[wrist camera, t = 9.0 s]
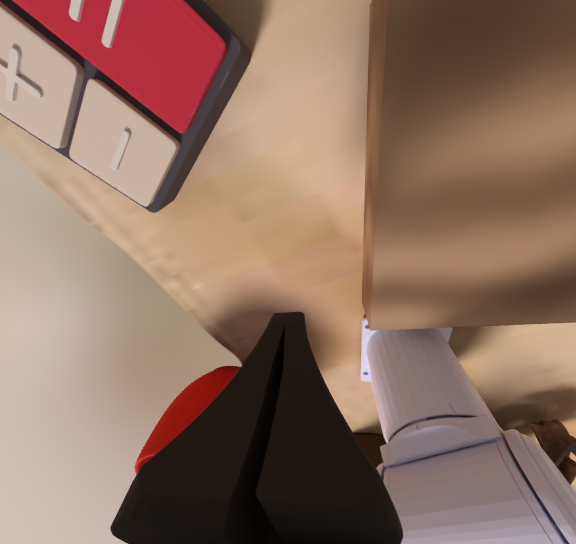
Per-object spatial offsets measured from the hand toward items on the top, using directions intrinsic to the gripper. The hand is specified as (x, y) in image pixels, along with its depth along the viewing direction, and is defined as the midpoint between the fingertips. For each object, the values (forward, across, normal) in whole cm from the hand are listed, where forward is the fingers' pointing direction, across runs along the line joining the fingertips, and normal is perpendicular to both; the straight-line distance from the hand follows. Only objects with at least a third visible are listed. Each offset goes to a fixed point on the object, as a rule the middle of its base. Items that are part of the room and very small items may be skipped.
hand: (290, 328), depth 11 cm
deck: (+9, -12, -3) cm, 16 cm away
